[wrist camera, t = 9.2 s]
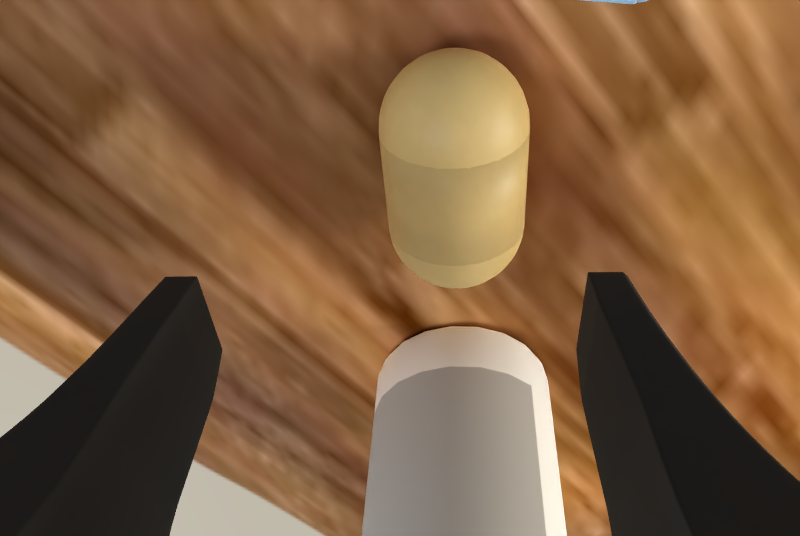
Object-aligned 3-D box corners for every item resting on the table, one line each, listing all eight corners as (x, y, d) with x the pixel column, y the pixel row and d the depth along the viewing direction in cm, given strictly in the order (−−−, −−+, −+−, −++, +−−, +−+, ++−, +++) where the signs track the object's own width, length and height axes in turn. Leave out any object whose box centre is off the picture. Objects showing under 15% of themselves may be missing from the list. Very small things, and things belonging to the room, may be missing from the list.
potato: (377, 25, 19) (363, 97, 16) (527, 18, 19) (541, 91, 16) (397, 232, 24) (389, 317, 21) (517, 229, 24) (526, 316, 21)
